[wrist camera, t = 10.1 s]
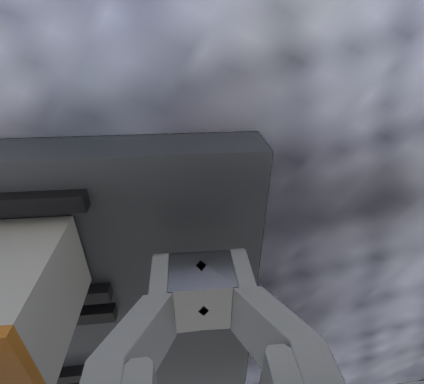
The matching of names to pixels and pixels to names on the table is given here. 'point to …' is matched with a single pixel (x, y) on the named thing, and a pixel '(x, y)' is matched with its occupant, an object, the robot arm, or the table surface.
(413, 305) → the table surface
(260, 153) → the switch panel
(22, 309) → the switch
